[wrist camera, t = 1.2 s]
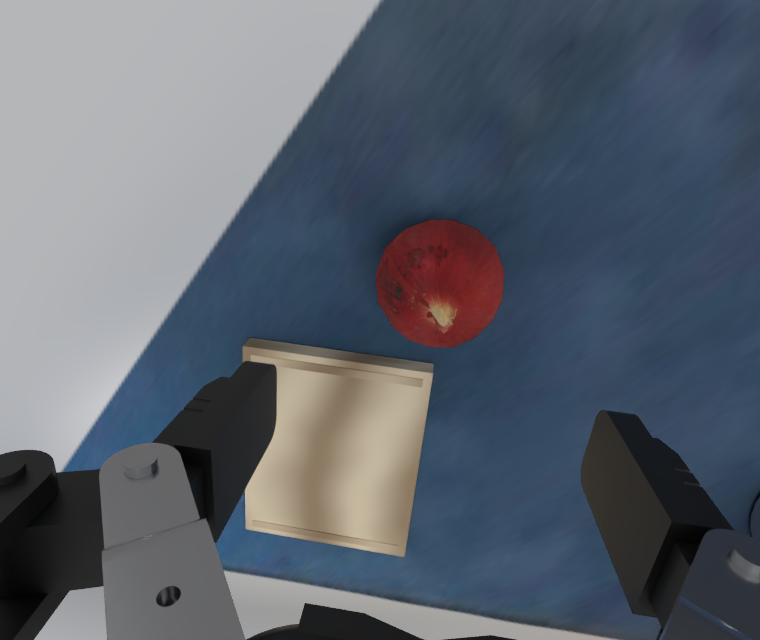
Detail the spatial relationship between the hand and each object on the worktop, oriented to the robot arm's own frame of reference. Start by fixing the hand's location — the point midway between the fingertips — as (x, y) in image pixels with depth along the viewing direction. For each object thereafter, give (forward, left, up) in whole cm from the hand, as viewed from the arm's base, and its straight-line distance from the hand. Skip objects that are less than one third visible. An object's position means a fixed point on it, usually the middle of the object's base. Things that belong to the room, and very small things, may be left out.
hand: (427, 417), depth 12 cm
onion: (0, 0, -15) cm, 15 cm away
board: (+5, +13, -15) cm, 20 cm away
